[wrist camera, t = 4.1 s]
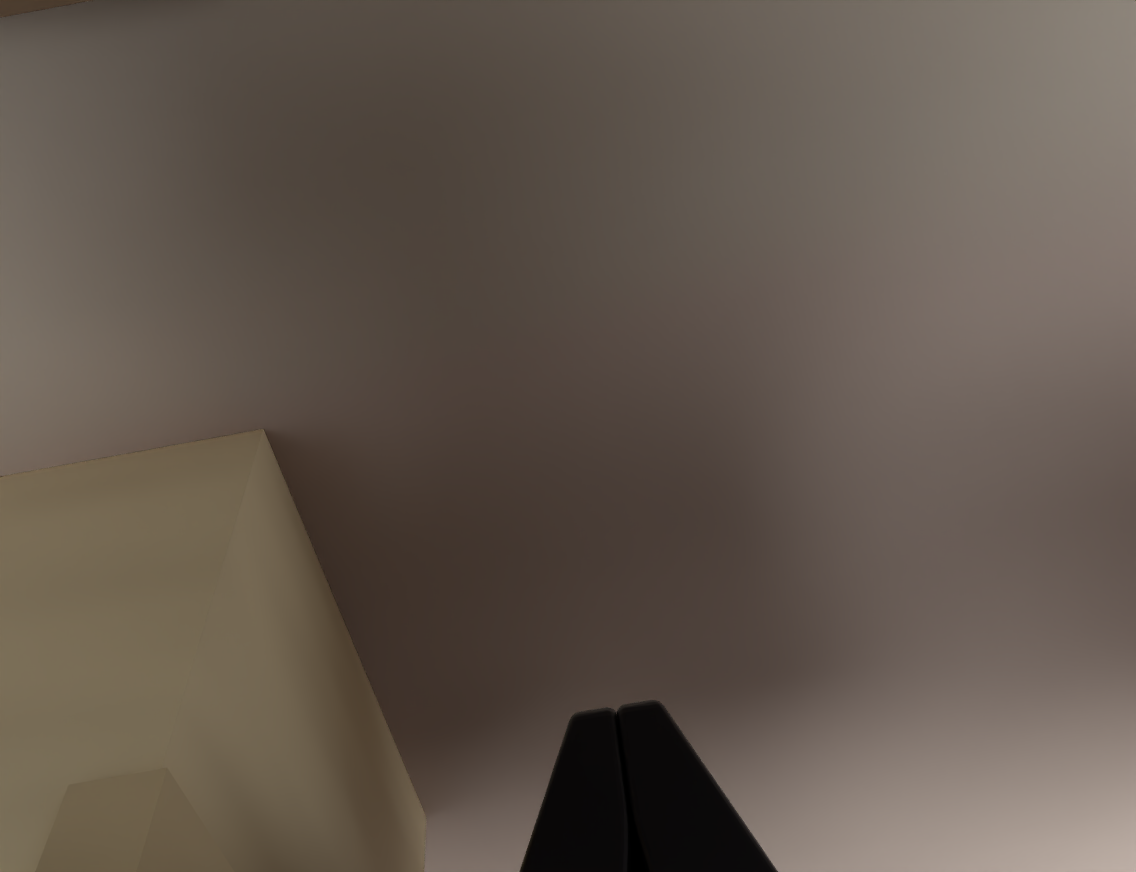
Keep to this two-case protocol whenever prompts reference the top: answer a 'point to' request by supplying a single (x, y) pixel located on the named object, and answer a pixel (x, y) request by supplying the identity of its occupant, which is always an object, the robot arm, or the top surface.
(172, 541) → the box
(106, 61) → the top surface
